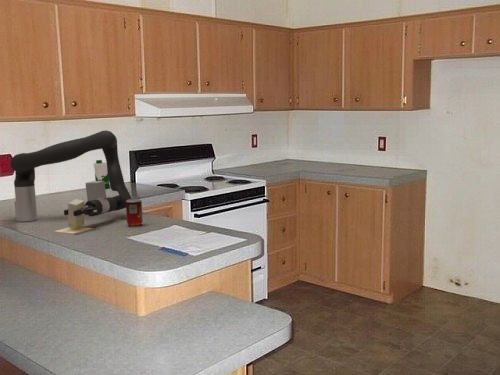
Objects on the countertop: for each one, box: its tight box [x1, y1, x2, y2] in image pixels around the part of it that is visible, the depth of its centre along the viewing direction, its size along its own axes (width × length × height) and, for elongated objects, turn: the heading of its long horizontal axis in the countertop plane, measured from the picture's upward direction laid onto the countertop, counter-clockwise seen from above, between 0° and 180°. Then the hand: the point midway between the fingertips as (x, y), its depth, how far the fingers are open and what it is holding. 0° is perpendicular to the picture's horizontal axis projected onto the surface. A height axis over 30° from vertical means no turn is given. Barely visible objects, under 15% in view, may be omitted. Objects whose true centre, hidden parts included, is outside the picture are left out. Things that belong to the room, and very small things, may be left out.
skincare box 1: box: [67, 198, 85, 230], centre depth 235 cm, size 6×4×12 cm
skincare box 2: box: [85, 180, 107, 201], centre depth 284 cm, size 8×7×16 cm
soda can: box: [125, 198, 143, 228], centre depth 242 cm, size 7×7×12 cm
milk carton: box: [93, 159, 111, 190], centre depth 369 cm, size 9×9×20 cm
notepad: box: [54, 226, 96, 235], centre depth 235 cm, size 14×11×1 cm
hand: (69, 213), depth 231 cm, fingers closed on skincare box 1, 5 cm apart
